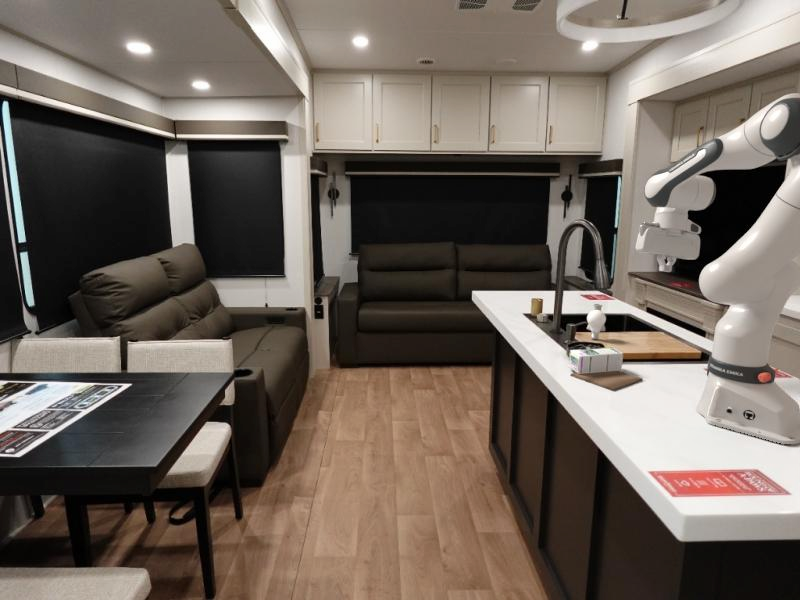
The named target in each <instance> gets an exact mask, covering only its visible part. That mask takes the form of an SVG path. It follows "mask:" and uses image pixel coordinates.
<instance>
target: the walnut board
mask: <svg viewBox="0 0 800 600" xmlns="http://www.w3.org/2000/svg"><path fill="white" fill-rule="evenodd" d="M570 377H574V378H576V379H579V380H581V381H585V382H587V383H590V384H592V385H595V386H599V387H601V388H604V389H606V390H609V391H612V392H615V391H617V390H621V389H622V388H626V387H628V386H631V385H635V384H637V383H639V382H642V381H643V378H642V377H640V376H637V375H633V374H629V373H627V372H624V371H622V370H621V371H611V372H599V373H586V374H578V373H576V372H575V371H574V372H572V373H570Z"/></svg>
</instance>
